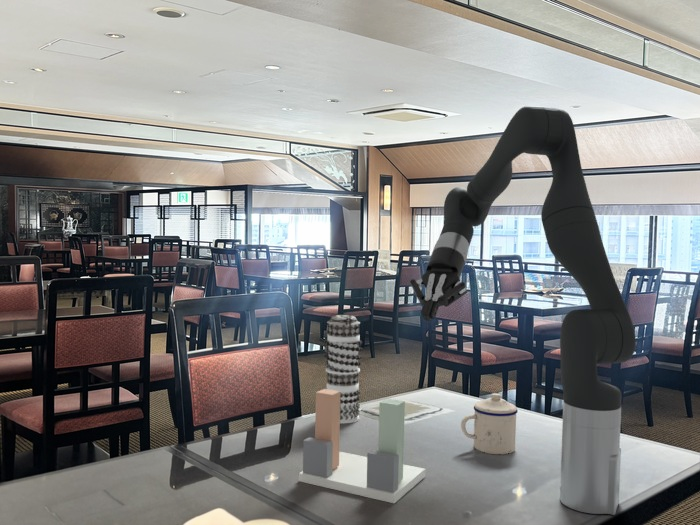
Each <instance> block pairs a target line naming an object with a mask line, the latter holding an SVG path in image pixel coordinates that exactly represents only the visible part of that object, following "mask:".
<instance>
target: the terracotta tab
mask: <svg viewBox="0 0 700 525" xmlns="http://www.w3.org/2000/svg"><path fill="white" fill-rule="evenodd" d="M314 419H315V425H314V426H315V429H314V430H315V431H314V432H315V433H314V438H315V439H320V440H326V441H331V442H333V457H332V470H333V469H334V468H336V467H337V466H339V452H340V438H341V437H340V436H341V434H340V433H341V428H340V427H341V425H340V424H341V423H340V391H334V390H328V389H327V388H323V389H320V390H318V391H316V392H315V418H314Z"/></svg>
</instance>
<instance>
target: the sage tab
mask: <svg viewBox="0 0 700 525" xmlns="http://www.w3.org/2000/svg"><path fill="white" fill-rule="evenodd" d="M405 403H406V401H405V400H399V399H392V398H385V399H383V400H381V401H379V413H378V414H379V415H378V450H377V451H382V452H387V453H392V454H398V455H399V466H398V483H399V482H400V481H401V480H403V464H404V454H405V453H404V450H405V449H404V448H405V447H404V446H405V442H404V441H405V415H406V414H405V413H406V412H405V407H406V406H405V405H406V404H405Z"/></svg>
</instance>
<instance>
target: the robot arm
mask: <svg viewBox="0 0 700 525" xmlns="http://www.w3.org/2000/svg"><path fill="white" fill-rule="evenodd" d="M574 125H575V124H574V122H573V119H572V117H571V116H570V114H569V113H568V112H567V111H565V110H564V109H562V108H559V107H552V106H551V107H550V106H549V107H548V106H542V105H525V106H522V107H520V108H519V109H518V110H517V111H516V112H515V114H514V115H512V118H511V119H510V120H509V122H508V124H507V126H506V128H505V129H504V131H503V132H502V134H501V136H500V138H499V140H498V142H497V143H496V145H495V146H494V148H493V150H492V153H491V155H490V156H489V157H488V159H487V161H486V162H485V163H484V164H483V166H482V167H480V169H479V170H478V171H477V172H476V173H475V174H474V175H473V177H472V178H471V179H470V180H469V182H468V184H467V186H466V188H465V187H461V186H457V187H454V188H452V189H451V190H450V191H449V192H448V193H447V195H446V196H445V199H444V205H443V225H442V229H441V231H440V233H439V234H440V235H439V237H438V239H437V240H436V243H435V244H434V247H433V249H432V252H431V254H430V257H429V260H428V263H427V266H426V269H425V272H424V273H423V274H422V275H421V278H420V279H417V280H416V279H414V278H412V279H410V280H409V283H410V285H411V288H412V291H413V292H414V294H415V296H416V298H417V300H418V302H419V303H420V305H422V308H421V310H420V313H421V317H422V319H423V320H424V321H426V322H432V321H433V320H434V319H435V318H436V317H437V313H438V310H439V308H441V307H443V306H444V307H448V306H450V305H452V304H453V303H454V302H455V301H458V300H459V299H461V297H464V295H466V294H467V293H468V289H467V287H466V283H465V282H463V281H461V279H460V278H461V275H462V273H463V271H464V270H463V269H464V267H465V263H466V262H467V259H468V254H469V250H470V249H469V248H470V245H471V242H472V239H473V236H474V227H478V226H479V227H480V226H481V225H483V223H485V221H486V219H487V218H488V215H489V212H490V209H491V206H492V205H493V203H494V202H495V200H496V199H498V197H499V196H500V195H501V194H503V192H504V191H505V190H506V189H507V188H508V187H509V185H510V184H511V181H512V177H513V161H514V160H515V159H516V158H517V157H518V156H520V155H522V154H528V155H538V156H546V158H548V161H549V163H550V168H551V173H552V181H551V185H550V188H549V189H548V192H547V194H546V197H545V199H544V202H543V204H542V208H541V214H540V215H541V218H540V219H541V223H542V227H543V231H544V234H545V239H546V243H547V246H548V248H549V251H550V252H551V254H552V256H553V257H554V258H555V259H556V261H557V262H558V263H559V264H560V265H561V266H562V267H563V269H564V270H566V271H567V273H568V274H569V275H570V276H571V277H572V278H573V279H574V280H575V281H576V282H577V284H578V285H579V286H580V288H581V289H582V291H583V292H584V295H585V297H586V299H587V302H588V304H589V306H590V308H587V309H585V308H584V309H583V308H581V309H580V308H579V309H574V310H570V311H569V312H568V313H566V314H565V316H564V318H563V320H562V323H561V327H560V336H559V347H560V348H559V351H560V353H559V354H560V381H561V382H560V383H561V388H562V392H563V396H562V397H563V402H562V404H563V405H562V428H561V429H562V430H561V431H562V432H561V452H560V453H561V454H560V455H561V458H560V479H559V480H560V484H559V501H560V502H561V503H562V504H563V505H564V506H565V507H568V508H569V509H572V510H575V511H578V512H581V513H585V514H593V515H594V514H595V515H604V514H605V515H607V514H608V515H613V516H616V513H617V509H618V508H619V507H618V506H619V503H620V485H621V484H620V483H621V460H622V459H621V458H622V448H621V447H620V446H621V445H620V444H621V421H622V415H621V414H622V400H623V399H622V398H623V397H622V391H621V390H620V389H619V388H618V387H617V386H615V385H612V384H610V383H607V382H604V381H601V379H599V376H598V367H597V365H605V364H606V365H607V364H611V365H612V364H622V363H625V362H627V361H628V362H629V360H631V358H632V357H633V355H634V353H635V350H636V340H637V339H636V333H635V332H636V331H635V327H634V323H633V321H632V318H631V315H630V312H629V310H628V308H627V305H626V303H625V300H624V298H623V296H622V293H621V291H620V289H619V286H618V284H617V282H616V279H615V277H614V274H613V271H612V267H611V265H610V261H609V259H608V255H607V252H606V249H605V247H604V246H605V245H604V244H603V243H604V242H603V240H602V235H601V230H600V226H599V223H598V220H597V217H596V213H595V210H594V207H593V204H592V201H591V199H590V198H591V197H590V195H589V191H588V186H587V183H586V180H585V179H586V178H585V176H584V172H583V168H582V163H581V159H580V153H579V152H580V151H579V147H578V140H577V136H576V134H577V133H576V130H575V126H574ZM423 286H424V287H425V291H426V293H425V295H424V294H423V292H422V289H423Z"/></svg>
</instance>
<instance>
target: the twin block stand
mask: <svg viewBox="0 0 700 525" xmlns="http://www.w3.org/2000/svg"><path fill="white" fill-rule="evenodd" d="M302 442H303V443H302V444H303V446H302V470H301V471H300V472H299V473H298V482H300V483H306V484H310V485H314V486H318V487H322V488H326V489H332V490H335V491H339V492H344V493H346V494H352V495H357V496H361V497H366V498H369V499H374V500H378V501H383V502H387V503H391V504H395V503H397V502H398V501H399V500H401V498H403V497H404V496H405V495H406V494H407V493H409V491H411V490H412V489H413V488H414V487H416V486H417V484H419V483H420V482H421V481H422V480H423V479H425V477H426V468H423V467H419V466H413V465H408V464H404V463H403V480H401V481H400V482H399V483H398V466H399V455H398V454H392V453H387V452H382V451H378V450H376V449H371V450H370V451H368V452H367V453H366V454H367V455H366V456H365V455H359V454H355V453H354V454H353V453H349V452H344V451H339V466H337V467H336V468H334V469H333V470H332V457H333V442H331V441H326V440H320V439H315V437H310V436H309V437H307V438H305V439H303V441H302Z"/></svg>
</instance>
